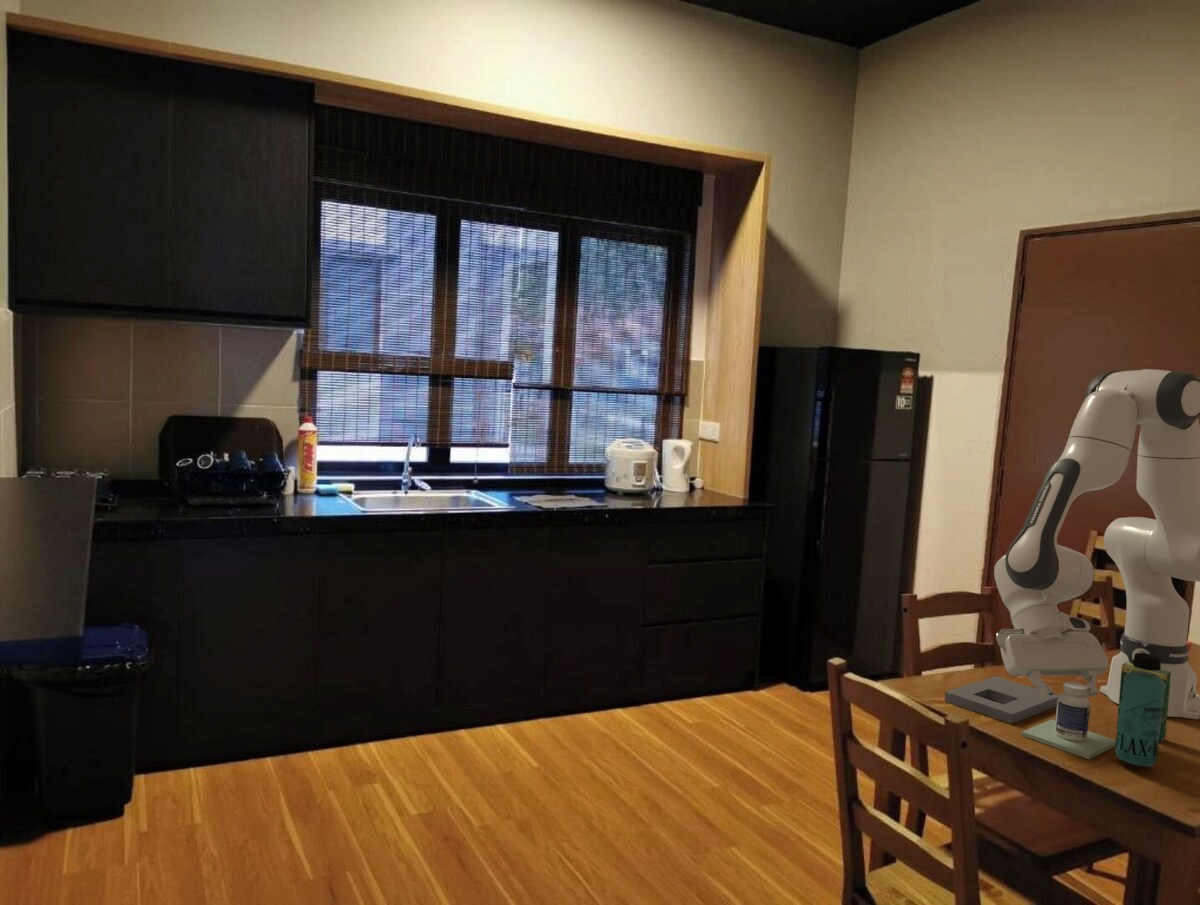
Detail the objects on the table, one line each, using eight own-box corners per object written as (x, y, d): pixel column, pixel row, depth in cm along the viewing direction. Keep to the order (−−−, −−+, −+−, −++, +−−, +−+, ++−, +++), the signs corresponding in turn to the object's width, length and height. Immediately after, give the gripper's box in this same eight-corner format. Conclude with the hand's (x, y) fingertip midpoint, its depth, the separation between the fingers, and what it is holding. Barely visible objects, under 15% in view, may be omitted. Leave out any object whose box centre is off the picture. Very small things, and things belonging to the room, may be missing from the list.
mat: (1051, 723, 174) (1052, 719, 174) (1117, 745, 165) (1117, 740, 165) (1021, 735, 167) (1021, 731, 167) (1088, 759, 157) (1089, 755, 157)
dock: (994, 684, 196) (995, 675, 195) (1059, 705, 185) (1060, 695, 184) (944, 701, 183) (945, 691, 183) (1011, 724, 172) (1012, 714, 172)
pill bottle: (1091, 743, 162) (1096, 691, 162) (1059, 739, 163) (1064, 688, 163) (1080, 732, 168) (1086, 682, 167) (1050, 728, 169) (1055, 678, 168)
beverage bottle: (1104, 761, 157) (1116, 650, 155) (1130, 757, 159) (1142, 647, 158) (1139, 777, 151) (1152, 662, 149) (1165, 772, 153) (1178, 659, 152)
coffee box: (1113, 729, 173) (1120, 663, 172) (1118, 725, 175) (1125, 660, 174) (1161, 743, 167) (1168, 674, 166) (1165, 739, 169) (1173, 671, 168)
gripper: (1001, 621, 170) (1030, 689, 162) (1095, 621, 174) (1128, 687, 165) (985, 637, 175) (1012, 703, 166) (1077, 636, 179) (1108, 702, 170)
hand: (1071, 695), depth 166 cm, fingers open, 8 cm apart
